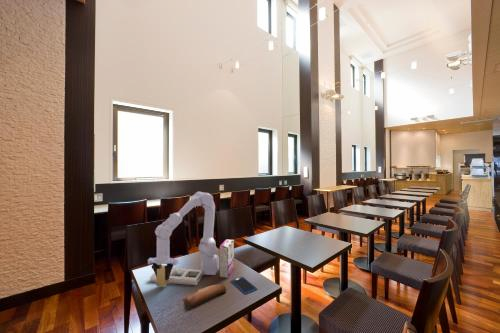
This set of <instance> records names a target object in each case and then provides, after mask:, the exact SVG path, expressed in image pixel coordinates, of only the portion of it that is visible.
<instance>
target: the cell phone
mask: <svg viewBox="0 0 500 333" xmlns="http://www.w3.org/2000/svg"><path fill="white" fill-rule="evenodd" d="M230 282H231V284H233V285H234V286H235V287H236V289H238V290H239V291H240V292H241V293H242V294H243V295H249V294H252V293H254V292H255V291H258V288H257V286H255V285H254V284H253V283H251V282H250V281H249V280H247V279H246V278H245V277H244V276H239V277H237V278H234V279H232V280H230Z"/></svg>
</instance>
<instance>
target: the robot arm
mask: <svg viewBox="0 0 500 333" xmlns="http://www.w3.org/2000/svg"><path fill="white" fill-rule="evenodd" d="M195 207H203V209H204V219H203V220H204V221H203V235H202V236H203V237H202V238H201V239H200V243H199V245H198V251H199V253H200V270H203V275H205V276H206V275H207V276H209V275H210V276H215V275H216V274H217V272H218V271H219V270H220V256H219V255H218V254H216V253H217V246H216V240H215V239H214V228H215V227H214V226H215V214H216V204H215V202H214V196H213V195H212V194H210V193H209V192H204V191H203V192H202V191H197V192H195V193H194V194H193V195H192V196H191V197H190V199H189V200H188V201H187V202H186V203H185V204H184V205H183V206H182V208H181V207H180V209H179V211H178V212H173V213H170V214H169V217H167V219H166V220H165V221H163V222H162V223H161V224H159V225H157V227H156V228H155V230H154V233H155V234H154V235H155V236H156V257H149V258H148V259H147V264H148V265H150V264H152V265H151V269H152V270H153V272H154V273H155V274H156V278H157V269H158V268H159V267H160V266H161V265H166V266H165V267H164V268H165V272H166V280H168V279H169V277H170V273H171V270H172V268H174V266H178V264H179V259H177V258H172V257H171V256H170V255H171V254H170V251H171V250H170V244H171V243H170V240H171V239H170V237H171V236H172V234H173V231H174V230H175V229H176V228H177V227H178V226H179V224H181V223H182V222H183V217H185V215H187V214H188V213H189V212H190V211H191V210H193V208H195Z"/></svg>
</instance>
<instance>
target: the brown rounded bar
mask: <svg viewBox="0 0 500 333" xmlns="http://www.w3.org/2000/svg"><path fill="white" fill-rule="evenodd" d="M226 292H227V287H226V285H225V284H222V283H220V284H219V283H218V284H212V285H208V286H205V287H202V288H199V289H198V290H197V291H195V292H193V293H191V294H189V295H187V296H185V297H184V298H182V301H183V302H184V303H185V305H186V306H187V308H189V309H193V308H194V307H196V306H198V305H200V304H202V303H203V302H205V301H207V300H210V299H212V298H214V297H216V296H219V295H221V294H223V293H226Z"/></svg>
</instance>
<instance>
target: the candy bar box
mask: <svg viewBox="0 0 500 333" xmlns="http://www.w3.org/2000/svg"><path fill="white" fill-rule="evenodd" d="M234 241H235V240H234V239H225V240H224V241H223V242H222V243H221V244H220V246H219V277H220V278H225V279H229V277H230V276H231V274H232V273H233V270H234V269H235V266H234V265H235V257H234V256H235V254H234V253H235V247H234V246H235V244H234V243H235V242H234Z"/></svg>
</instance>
